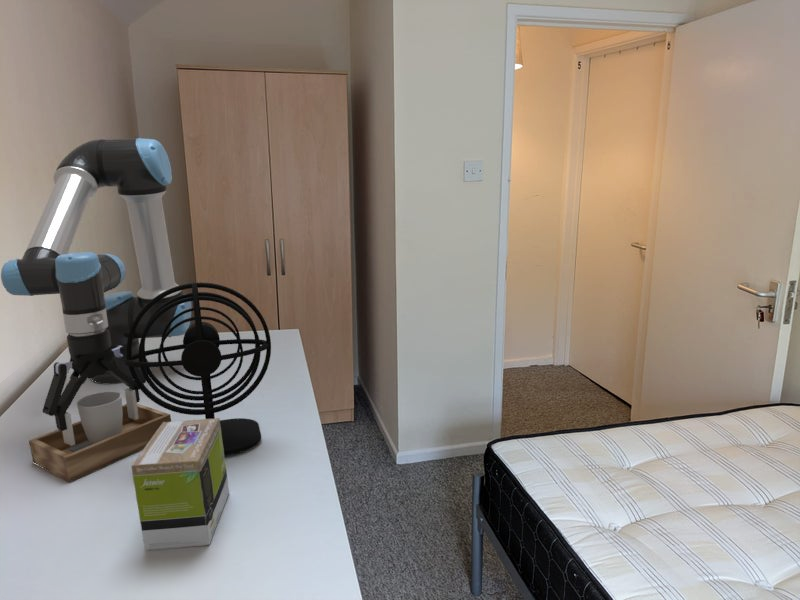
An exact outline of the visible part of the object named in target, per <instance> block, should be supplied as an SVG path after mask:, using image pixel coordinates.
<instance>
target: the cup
mask: <svg viewBox="0 0 800 600" xmlns="http://www.w3.org/2000/svg"><path fill="white" fill-rule="evenodd" d="M76 405H77V410H78V411H77V412H78V415H79V419H80V421H81V423H82V426H83V428H84V431H85V434H86V436H87V438H88V440H89V442H90V443H91V445H93V444H95V443H97V442H100V441H102V440H105V439H107V438H110V437H112V436H114V435H117V434H119V433H122V419H123V411H122V405H123V401H122V394H121V393H120V392H117V391H102V392H97V393H92V394H90V395H86V396H83V397H82V398H80V399H79V400H77V402H76Z"/></svg>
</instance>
